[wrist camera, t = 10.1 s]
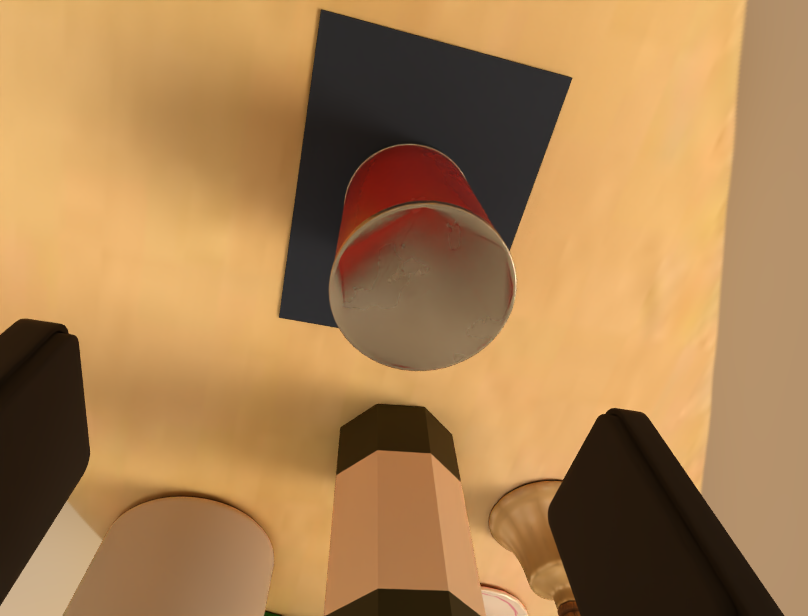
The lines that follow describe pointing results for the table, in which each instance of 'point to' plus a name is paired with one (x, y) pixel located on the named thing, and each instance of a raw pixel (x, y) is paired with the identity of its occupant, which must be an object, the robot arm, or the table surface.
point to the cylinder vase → (178, 563)
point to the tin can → (418, 262)
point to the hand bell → (534, 541)
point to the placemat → (409, 135)
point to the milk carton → (270, 614)
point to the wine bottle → (400, 521)
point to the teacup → (501, 603)
